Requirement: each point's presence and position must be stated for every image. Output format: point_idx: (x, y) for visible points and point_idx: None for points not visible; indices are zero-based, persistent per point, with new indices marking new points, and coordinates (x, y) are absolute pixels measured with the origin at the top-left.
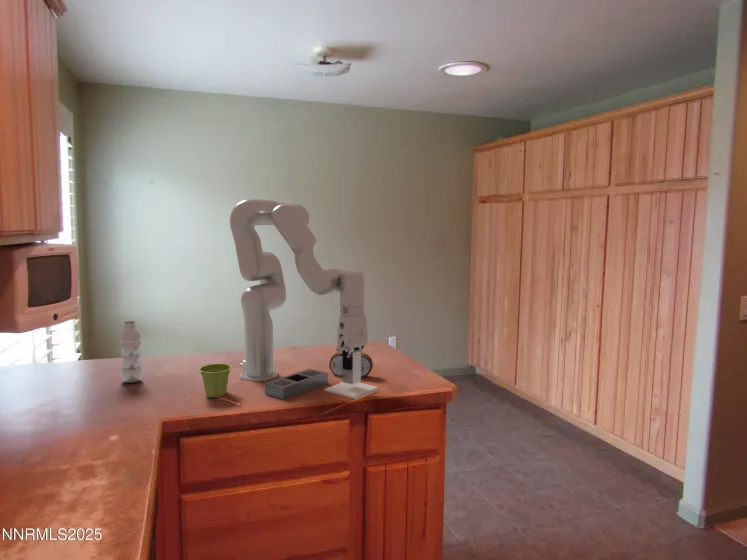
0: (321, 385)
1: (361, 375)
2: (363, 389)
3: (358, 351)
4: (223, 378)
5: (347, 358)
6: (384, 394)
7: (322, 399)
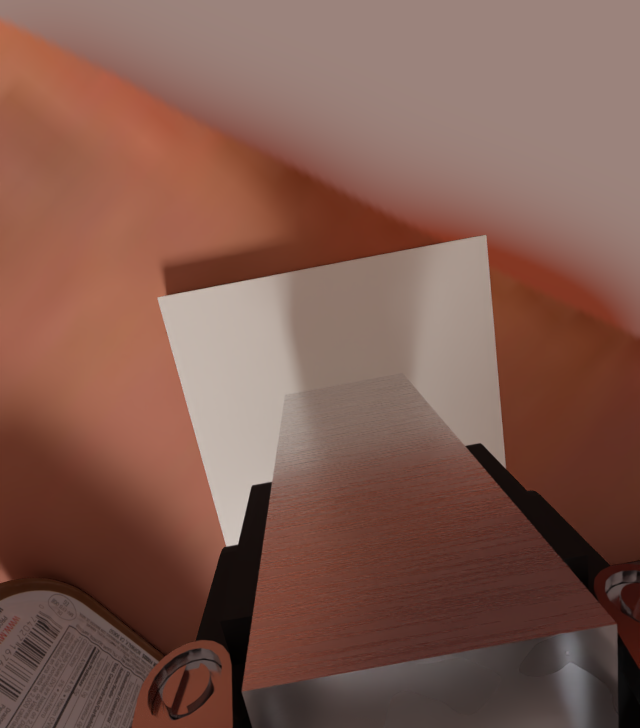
0: None
1: (75, 604)
2: (298, 330)
3: (346, 680)
4: None
5: (620, 586)
6: (190, 173)
7: (618, 405)
